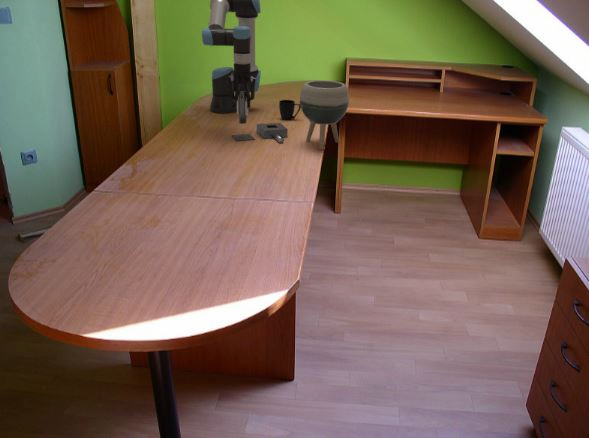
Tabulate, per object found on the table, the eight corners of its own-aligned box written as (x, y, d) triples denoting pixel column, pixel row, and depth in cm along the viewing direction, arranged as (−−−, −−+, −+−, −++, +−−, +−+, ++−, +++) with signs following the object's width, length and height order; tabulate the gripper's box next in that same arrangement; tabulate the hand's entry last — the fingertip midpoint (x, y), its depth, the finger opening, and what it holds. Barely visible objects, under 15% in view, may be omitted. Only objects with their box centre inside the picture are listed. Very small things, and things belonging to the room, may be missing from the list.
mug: (296, 122, 286) (296, 104, 282) (276, 119, 291) (276, 101, 287) (303, 119, 293) (303, 101, 289) (283, 116, 297) (283, 99, 293)
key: (237, 124, 252) (236, 92, 246) (241, 120, 258) (240, 90, 252) (244, 124, 252) (244, 93, 246) (248, 121, 258) (247, 90, 251)
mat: (231, 135, 261) (231, 134, 261) (249, 134, 264) (249, 133, 263) (236, 141, 253) (236, 140, 253) (254, 139, 256) (254, 138, 256)
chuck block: (256, 132, 268) (256, 124, 266) (279, 130, 272) (279, 122, 270) (269, 144, 250) (269, 136, 248) (293, 142, 254) (293, 134, 252)
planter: (350, 140, 259) (355, 82, 247) (338, 154, 240) (343, 91, 228) (306, 135, 265) (309, 77, 253) (291, 148, 246) (293, 86, 234)
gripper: (221, 63, 241) (223, 114, 251) (257, 65, 239) (257, 117, 249) (226, 60, 248) (228, 111, 258) (261, 62, 246) (261, 113, 255)
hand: (242, 114), depth 253 cm, fingers closed on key, 3 cm apart
